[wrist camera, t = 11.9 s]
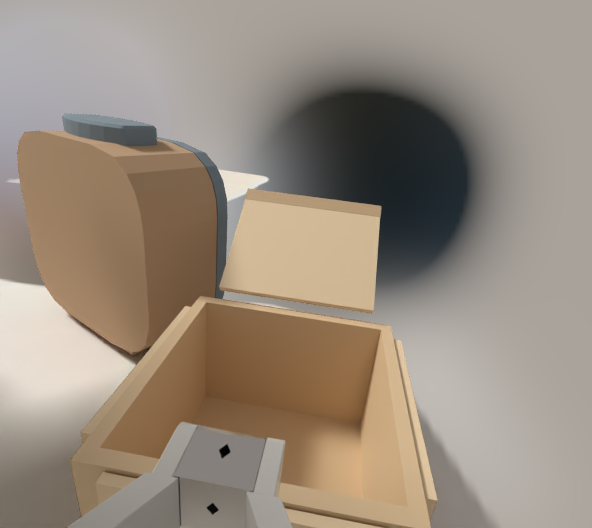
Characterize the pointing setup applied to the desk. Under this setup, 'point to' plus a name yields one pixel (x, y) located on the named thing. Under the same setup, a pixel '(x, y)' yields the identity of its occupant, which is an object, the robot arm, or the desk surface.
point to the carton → (275, 412)
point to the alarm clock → (123, 224)
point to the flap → (305, 251)
